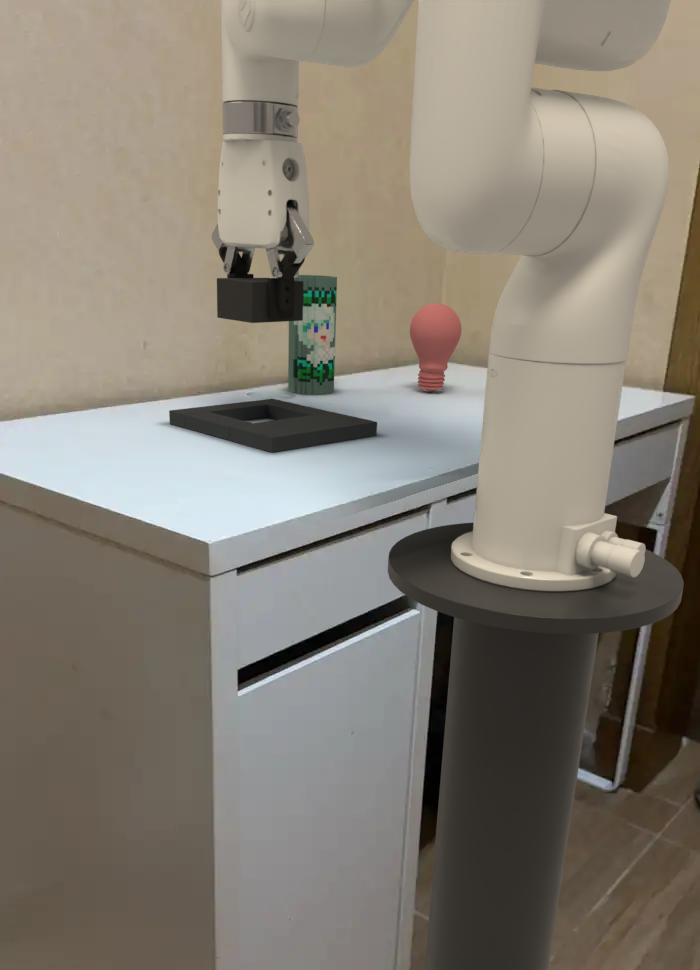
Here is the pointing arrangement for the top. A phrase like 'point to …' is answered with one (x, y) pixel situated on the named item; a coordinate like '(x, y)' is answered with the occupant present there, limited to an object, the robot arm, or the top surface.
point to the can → (314, 338)
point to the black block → (251, 300)
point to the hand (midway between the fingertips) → (260, 313)
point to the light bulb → (434, 342)
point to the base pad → (273, 424)
